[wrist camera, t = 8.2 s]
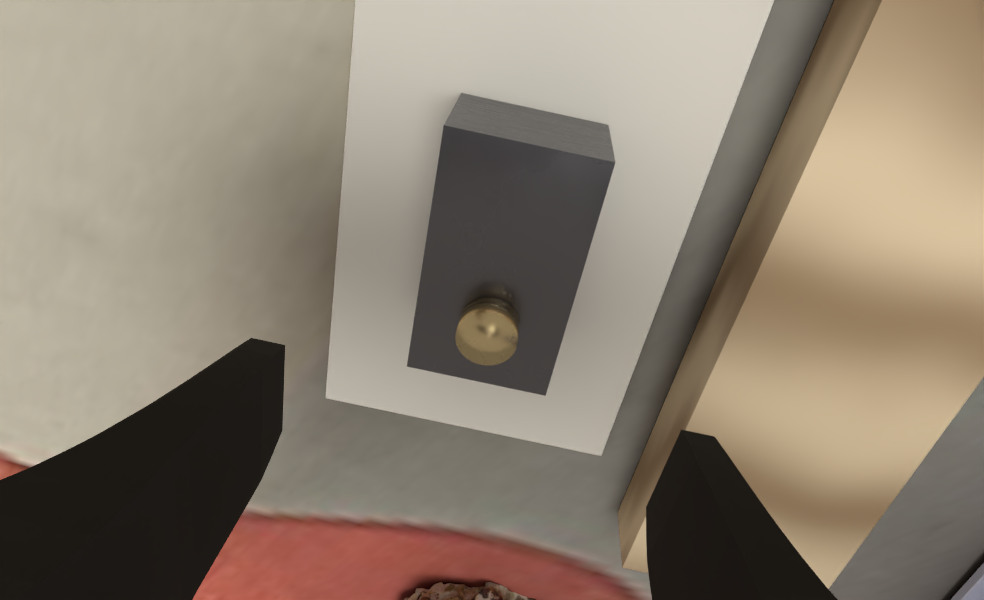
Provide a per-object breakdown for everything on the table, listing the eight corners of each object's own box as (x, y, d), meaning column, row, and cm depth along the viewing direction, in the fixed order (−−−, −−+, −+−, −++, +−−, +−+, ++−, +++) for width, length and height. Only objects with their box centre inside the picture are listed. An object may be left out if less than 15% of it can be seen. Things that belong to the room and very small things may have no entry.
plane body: (794, 549, 26) (839, 677, 22) (617, 512, 26) (627, 634, 21) (1222, -105, 14) (1497, -107, 10) (908, -176, 14) (1053, -208, 10)
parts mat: (600, 448, 24) (601, 455, 24) (328, 390, 24) (325, 398, 24) (782, -38, 16) (788, -36, 16) (369, -130, 16) (365, -130, 15)
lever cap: (548, 336, 21) (544, 414, 18) (425, 310, 21) (400, 384, 18) (608, 124, 18) (617, 174, 15) (461, 92, 18) (438, 135, 15)
